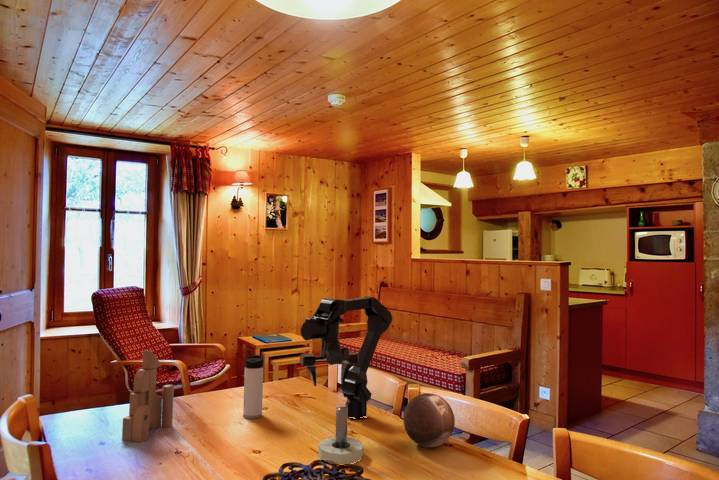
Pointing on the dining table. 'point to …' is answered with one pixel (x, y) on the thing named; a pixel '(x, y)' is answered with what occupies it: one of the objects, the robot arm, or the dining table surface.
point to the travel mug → (253, 387)
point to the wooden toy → (147, 403)
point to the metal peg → (341, 427)
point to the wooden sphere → (428, 420)
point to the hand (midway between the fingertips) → (328, 385)
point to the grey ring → (341, 451)
